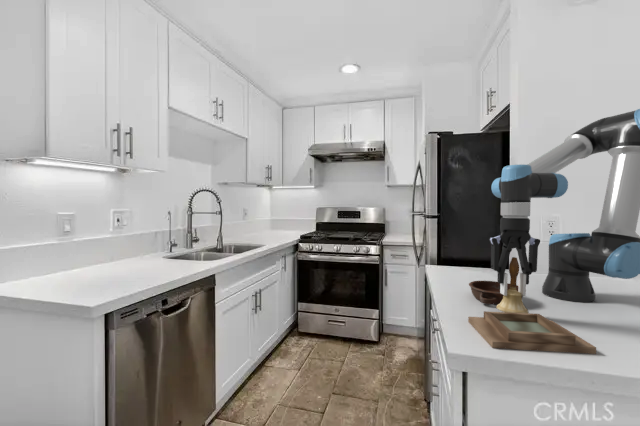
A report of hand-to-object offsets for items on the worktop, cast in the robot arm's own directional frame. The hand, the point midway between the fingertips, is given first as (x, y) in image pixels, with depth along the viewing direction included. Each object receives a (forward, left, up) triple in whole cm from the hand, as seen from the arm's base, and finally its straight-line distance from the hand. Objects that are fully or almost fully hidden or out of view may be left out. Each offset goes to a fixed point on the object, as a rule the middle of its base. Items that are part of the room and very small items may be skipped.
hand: (512, 294), depth 93 cm
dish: (-2, -16, -7) cm, 18 cm away
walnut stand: (+4, +15, -6) cm, 17 cm away
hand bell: (0, 0, -5) cm, 5 cm away
